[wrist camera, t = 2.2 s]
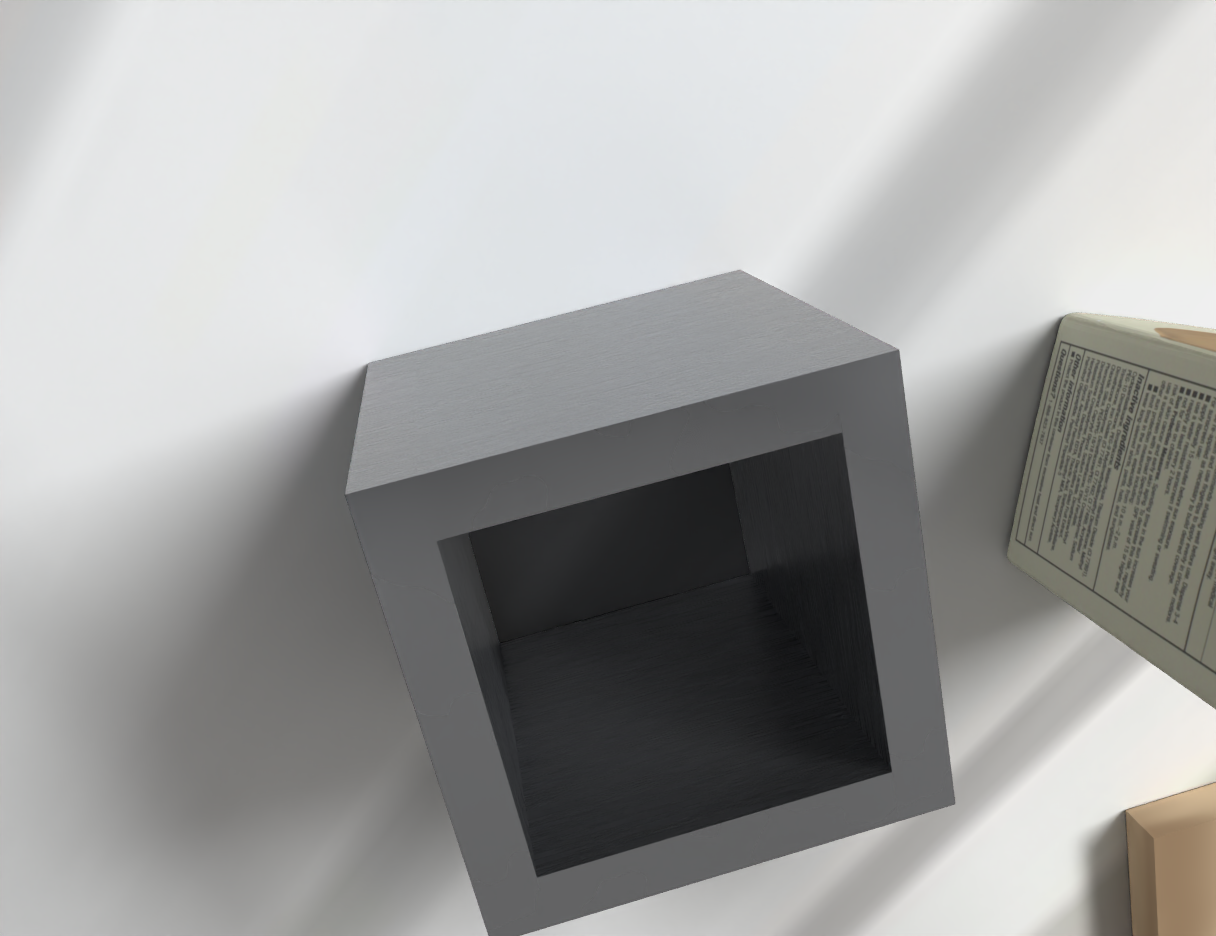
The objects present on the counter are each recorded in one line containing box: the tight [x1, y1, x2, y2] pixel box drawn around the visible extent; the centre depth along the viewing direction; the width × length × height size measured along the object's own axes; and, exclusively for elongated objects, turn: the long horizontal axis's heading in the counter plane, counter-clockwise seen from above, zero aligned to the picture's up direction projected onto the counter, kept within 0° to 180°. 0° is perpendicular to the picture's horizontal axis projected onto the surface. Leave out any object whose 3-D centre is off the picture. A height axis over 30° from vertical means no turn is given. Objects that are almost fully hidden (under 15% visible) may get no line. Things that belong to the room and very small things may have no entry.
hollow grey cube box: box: [345, 270, 955, 936], centre depth 20 cm, size 8×8×8 cm
